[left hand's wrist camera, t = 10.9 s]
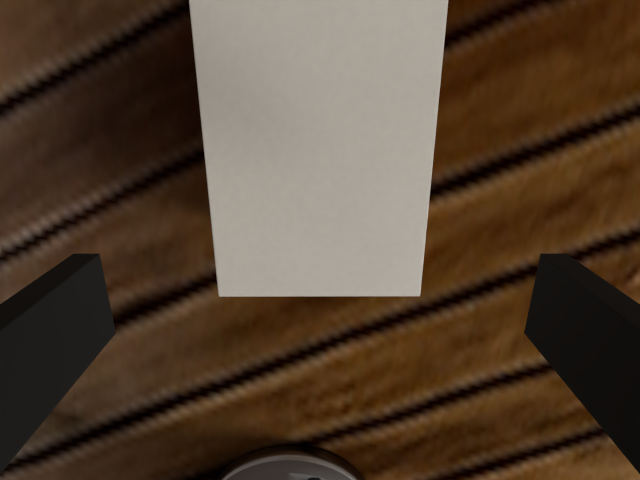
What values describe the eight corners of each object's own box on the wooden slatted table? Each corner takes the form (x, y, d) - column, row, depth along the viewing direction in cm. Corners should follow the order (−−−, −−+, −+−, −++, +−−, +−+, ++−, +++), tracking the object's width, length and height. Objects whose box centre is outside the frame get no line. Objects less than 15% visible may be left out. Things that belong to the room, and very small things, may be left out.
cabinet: (229, -51, 23) (175, -131, 14) (408, -52, 23) (461, -132, 14) (248, 234, 29) (218, 296, 20) (390, 234, 29) (420, 296, 20)
